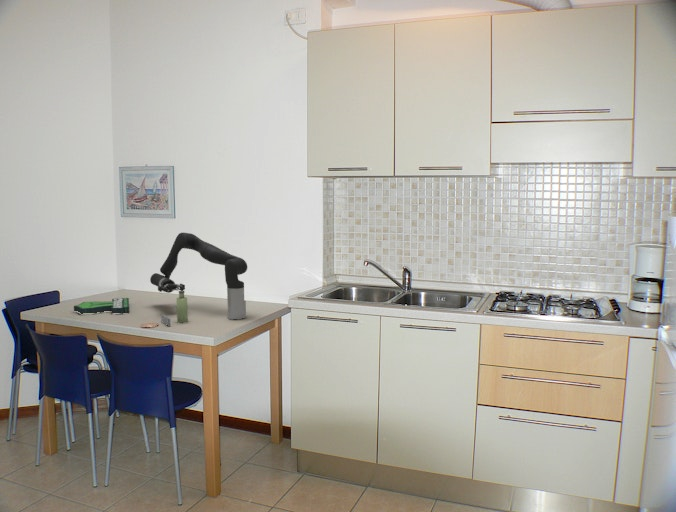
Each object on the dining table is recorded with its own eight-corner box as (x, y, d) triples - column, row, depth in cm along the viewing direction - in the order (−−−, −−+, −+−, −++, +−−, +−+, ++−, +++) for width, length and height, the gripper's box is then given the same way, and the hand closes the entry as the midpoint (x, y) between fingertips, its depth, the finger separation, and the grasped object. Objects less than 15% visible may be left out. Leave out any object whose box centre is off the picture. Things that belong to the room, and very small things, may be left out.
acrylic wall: (163, 321, 307) (162, 313, 306) (170, 326, 295) (170, 319, 294) (161, 321, 306) (161, 314, 306) (168, 326, 294) (168, 319, 294)
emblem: (129, 307, 324) (71, 311, 313) (129, 314, 324) (71, 318, 314) (128, 297, 352) (75, 301, 341) (128, 304, 352) (76, 307, 342)
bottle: (186, 320, 309) (185, 289, 307) (189, 322, 304) (188, 291, 302) (175, 321, 306) (174, 290, 304) (178, 323, 301) (177, 292, 299)
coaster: (155, 323, 302) (155, 322, 302) (160, 326, 295) (160, 325, 294) (138, 325, 297) (138, 324, 297) (142, 328, 290) (142, 327, 290)
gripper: (154, 279, 323) (161, 284, 309) (179, 277, 330) (187, 282, 317) (154, 292, 324) (162, 297, 310) (179, 290, 331) (187, 295, 318)
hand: (174, 289), depth 314 cm, fingers open, 8 cm apart
